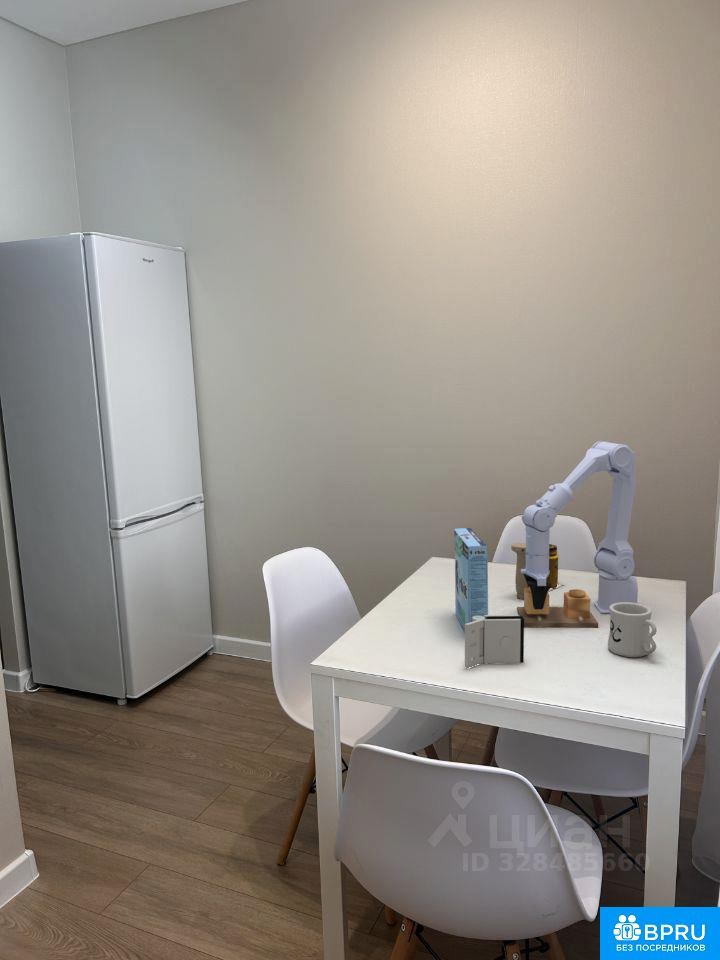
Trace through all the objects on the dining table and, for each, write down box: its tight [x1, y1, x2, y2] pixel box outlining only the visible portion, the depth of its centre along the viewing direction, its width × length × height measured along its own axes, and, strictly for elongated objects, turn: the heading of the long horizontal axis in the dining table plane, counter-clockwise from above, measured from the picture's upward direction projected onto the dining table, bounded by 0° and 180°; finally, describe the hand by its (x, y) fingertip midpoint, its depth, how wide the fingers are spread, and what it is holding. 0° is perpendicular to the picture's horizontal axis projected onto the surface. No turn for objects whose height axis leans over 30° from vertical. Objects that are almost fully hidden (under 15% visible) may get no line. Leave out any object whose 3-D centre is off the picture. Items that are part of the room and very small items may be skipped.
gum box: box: [453, 527, 489, 632], centre depth 184 cm, size 20×5×23 cm, turn 2°
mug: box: [607, 602, 658, 658], centre depth 166 cm, size 12×9×10 cm
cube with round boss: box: [523, 587, 550, 614], centre depth 189 cm, size 5×5×6 cm
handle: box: [510, 542, 528, 600], centre depth 205 cm, size 5×6×15 cm
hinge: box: [464, 614, 525, 668], centre depth 163 cm, size 14×5×10 cm, turn 101°
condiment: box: [546, 543, 563, 592], centre depth 216 cm, size 7×8×12 cm
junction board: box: [516, 588, 599, 629], centre depth 189 cm, size 18×12×7 cm, turn 86°
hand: (536, 605), depth 189 cm, fingers closed on cube with round boss, 5 cm apart
